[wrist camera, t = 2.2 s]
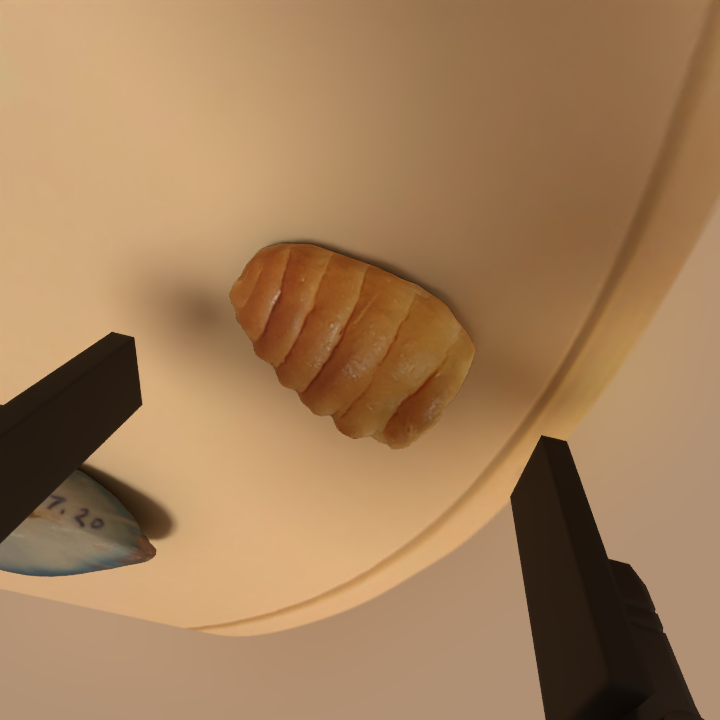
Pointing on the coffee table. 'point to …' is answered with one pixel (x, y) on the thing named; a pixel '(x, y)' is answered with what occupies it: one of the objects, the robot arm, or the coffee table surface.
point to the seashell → (75, 533)
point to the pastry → (353, 340)
